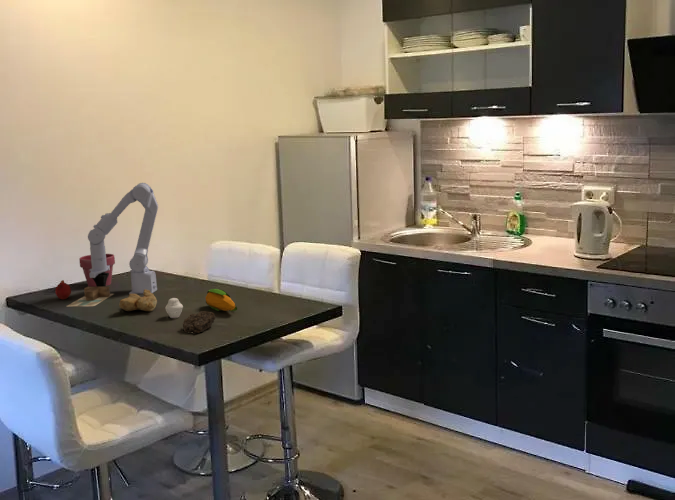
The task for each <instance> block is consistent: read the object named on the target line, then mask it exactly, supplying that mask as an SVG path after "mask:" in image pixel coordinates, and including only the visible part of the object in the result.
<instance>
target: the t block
mask: <svg viewBox="0 0 675 500" xmlns="http://www.w3.org/2000/svg"><path fill="white" fill-rule="evenodd" d="M83 289H84V292H83V293H84V296H85V297H86V301H94V300H95V299H97V298H99V297H108V296H109V295H110V294H111V291H110V286H106V287H89V286H86V287H84V288H83Z"/></svg>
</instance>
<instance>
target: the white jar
mask: <svg viewBox="0 0 675 500" xmlns="http://www.w3.org/2000/svg"><path fill="white" fill-rule="evenodd" d="M179 300H180V299H178V298H176V297H172V298H171V297H170V299H168V303H167V304H166V306H165V307H164V308H165V312H166V313H167V314H168V316H169V318H171V319H177V318H179V317H180V316H181V314H182V311H183V308H184V306H183V304H182V303H181V301H179Z"/></svg>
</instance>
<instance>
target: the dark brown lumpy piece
mask: <svg viewBox="0 0 675 500" xmlns="http://www.w3.org/2000/svg"><path fill="white" fill-rule="evenodd" d="M215 315H216V314H215V313H214V312H212V311H205V310H204V311H202V310H201V311H199V312H198V313H191V314H190V315H189V316H188V317H186V318H185V319H184V321H183V322H182V328H183V330H184V332H185V333H188V332H189V334H190V333H191V332H193V333H191V334H194V333H195V334H199V333H201V332H204V331H206V330H207V329H209V328H211V327H212V324H213V323H214V322H215V320H216V316H215Z"/></svg>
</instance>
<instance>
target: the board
mask: <svg viewBox="0 0 675 500" xmlns="http://www.w3.org/2000/svg"><path fill="white" fill-rule="evenodd" d="M112 296H114V293H110V295H109V296H108V297H99V298H97V299H95V300H94V301H86V297H85V295H83V296H82V297H80V298H78V299H76V300H75V301H73V302H71V303H70V304H68V305H67V307H95V306H97V305H98V304H100V303H102V302H104V301H105V300H107V299H108V298H110V297H112Z"/></svg>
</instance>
